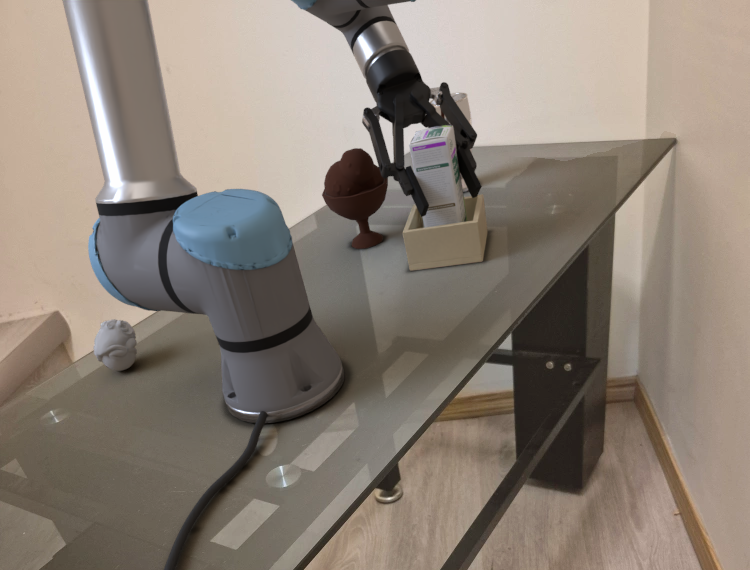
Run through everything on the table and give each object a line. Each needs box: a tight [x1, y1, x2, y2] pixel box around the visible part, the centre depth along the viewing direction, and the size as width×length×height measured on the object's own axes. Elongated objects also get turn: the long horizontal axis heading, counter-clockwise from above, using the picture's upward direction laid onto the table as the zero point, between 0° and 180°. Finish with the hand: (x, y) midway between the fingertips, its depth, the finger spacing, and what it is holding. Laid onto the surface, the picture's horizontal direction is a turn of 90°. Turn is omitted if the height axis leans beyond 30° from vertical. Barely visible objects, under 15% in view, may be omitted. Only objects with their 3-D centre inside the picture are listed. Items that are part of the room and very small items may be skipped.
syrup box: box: [408, 125, 467, 228], centre depth 108 cm, size 6×6×14 cm
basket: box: [402, 193, 488, 272], centre depth 113 cm, size 11×11×6 cm
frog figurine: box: [93, 318, 138, 372], centre depth 105 cm, size 6×7×7 cm
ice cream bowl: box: [321, 147, 389, 250], centre depth 120 cm, size 11×11×15 cm
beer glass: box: [429, 92, 473, 193], centre depth 131 cm, size 7×7×15 cm
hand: (451, 201), depth 107 cm, fingers closed on syrup box, 8 cm apart
